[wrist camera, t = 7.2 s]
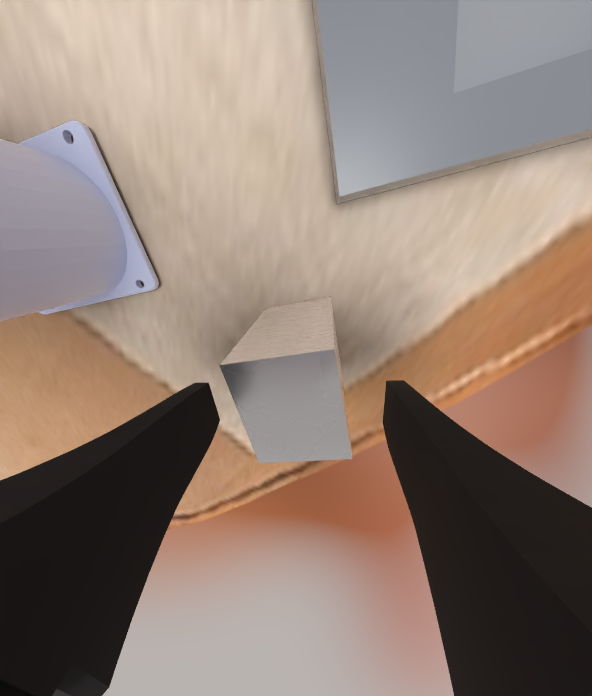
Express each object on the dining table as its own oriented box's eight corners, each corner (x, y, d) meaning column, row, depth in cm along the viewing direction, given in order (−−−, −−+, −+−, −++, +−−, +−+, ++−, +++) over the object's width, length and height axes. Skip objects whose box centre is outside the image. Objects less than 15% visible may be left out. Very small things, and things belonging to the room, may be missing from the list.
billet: (284, 375, 16) (259, 463, 10) (265, 308, 14) (219, 365, 8) (341, 368, 16) (352, 458, 9) (330, 296, 13) (334, 348, 7)
